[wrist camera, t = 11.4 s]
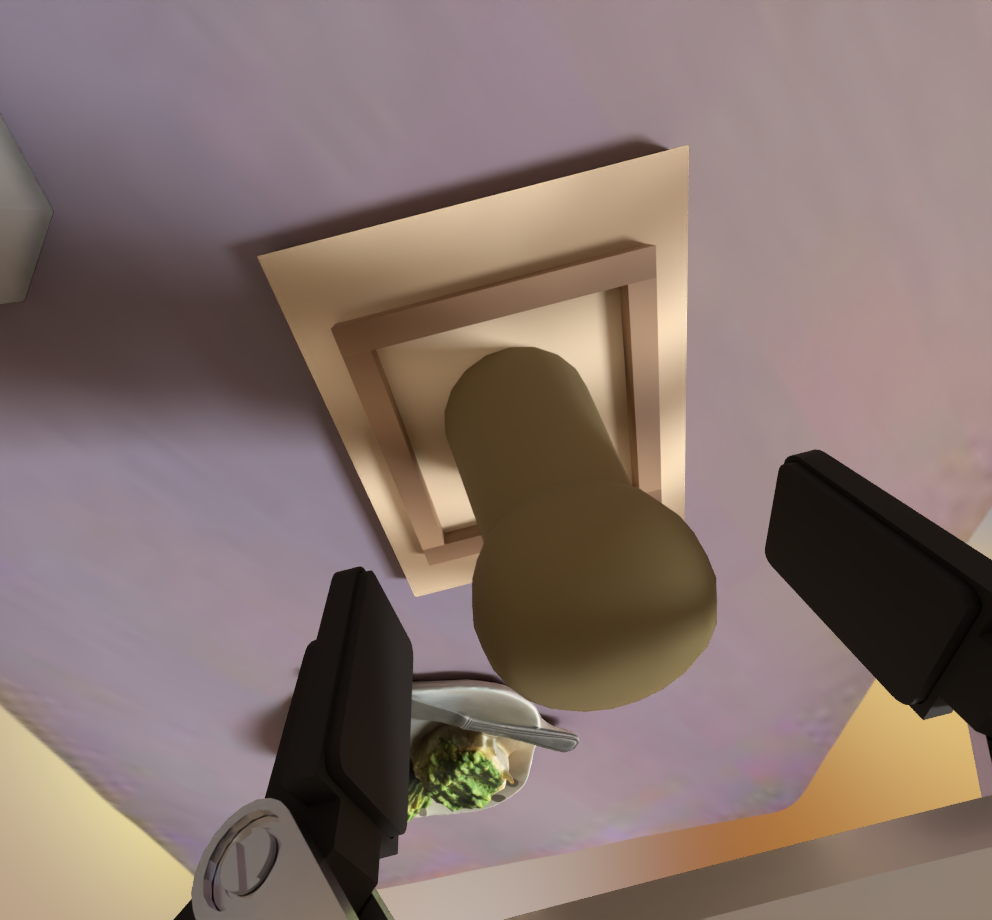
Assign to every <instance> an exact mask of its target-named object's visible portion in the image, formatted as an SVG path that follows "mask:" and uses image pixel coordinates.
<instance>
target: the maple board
mask: <svg viewBox="0 0 992 920" xmlns="http://www.w3.org/2000/svg"><path fill="white" fill-rule="evenodd" d="M688 179H689V145H686V146H682V147H678V148H674V149H670V150H667V151H663V152H659V153H655V154H651V155H647V156H643V157H639V158H636V159H632V160H628V161H624V162H620V163H616V164H612V165H609V166H605V167H601V168H597V169H593V170H589V171H585V172H581V173H578V174H574V175H570V176H566V177H562V178H558V179H554V180H550V181H547V182H543V183H539V184H535V185H531V186H527V187H523V188H520V189H516V190H512V191H508V192H504V193H500V194H496V195H492V196H489V197H485V198H481V199H477V200H473V201H469V202H465V203H461V204H458V205H454V206H450V207H446V208H442V209H438V210H434V211H430V212H427V213H423V214H419V215H415V216H411V217H407V218H403V219H400V220H396V221H392V222H388V223H384V224H380V225H376V226H372V227H369V228H365V229H361V230H357V231H353V232H349V233H345V234H341V235H338V236H334V237H330V238H326V239H322V240H318V241H314V242H311V243H307V244H303V245H299V246H295V247H291V248H287V249H283V250H280V251H276V252H272V253H268V254H264V255H260V256H257V258H258V260H259V262H260V264H261V266H262V268H263V271H264V273H265V275H266V277H267V279H268V281H269V284H270V286H271V288H272V290H273V292H274V294H275V296H276V299H277V301H278V303H279V305H280V307H281V309H282V312H283V314H284V316H285V318H286V320H287V322H288V324H289V327H290V329H291V331H292V333H293V335H294V337H295V339H296V342H297V344H298V346H299V348H300V350H301V352H302V355H303V357H304V359H305V361H306V363H307V365H308V367H309V370H310V372H311V374H312V376H313V378H314V380H315V382H316V385H317V387H318V389H319V391H320V393H321V395H322V398H323V400H324V402H325V404H326V406H327V408H328V410H329V413H330V415H331V417H332V419H333V421H334V423H335V425H336V428H337V430H338V432H339V434H340V436H341V438H342V441H343V443H344V445H345V447H346V449H347V451H348V453H349V456H350V458H351V460H352V462H353V464H354V466H355V468H356V471H357V473H358V475H359V477H360V479H361V481H362V484H363V486H364V488H365V490H366V492H367V494H368V496H369V499H370V501H371V503H372V505H373V507H374V509H375V511H376V514H377V516H378V518H379V520H380V522H381V524H382V527H383V529H384V531H385V533H386V535H387V537H388V539H389V542H390V544H391V546H392V548H393V550H394V552H395V554H396V557H397V559H398V561H399V563H400V565H401V567H402V570H403V572H404V574H405V576H406V578H407V580H408V582H409V585H410V587H411V589H412V591H413V593H414V595H415V597H418V596H422V595H426V594H430V593H434V592H437V591H441V590H445V589H449V588H453V587H457V586H461V585H465V584H469V583H472V578H473V574H474V570H475V565H476V561H477V558H478V556H479V554H480V551H481V549H482V547H483V544H484V542H483V539H482V536H481V533H480V531H479V528H478V525H477V522H476V519H475V516H474V514H473V511H472V508H471V505H470V502H469V499H468V496H467V494H466V491H465V488H464V485H463V482H462V479H461V477H460V474H459V471H458V468H457V465H456V462H455V460H454V457H453V454H452V451H451V448H450V445H449V442H448V440H447V437H446V434H445V413H444V412H445V408H446V405H447V402H448V399H449V396H450V392H451V390H452V388H453V387H454V385H455V384H456V383H457V381H458V380H459V379H460V377H461V376H462V374H463V373H464V372H465V370H467V369H468V368H469V367H471V366H472V365H474V364H475V363H476V362H478V361H479V360H480V359H482V358H483V357H485V356H486V355H489V354H492V353H495V352H498V351H501V350H504V349H507V348H510V347H536V348H539V349H542V350H545V351H548V352H551V353H554V354H557V355H559V356H560V357H562V358H563V359H564V360H565V361H567V362H568V363H569V364H571V365H572V366H573V367H574V368H576V370H577V371H578V373H579V375H580V376H581V378H582V380H583V381H584V383H585V384H586V386H587V388H588V390H589V392H590V395H591V397H592V399H593V401H594V403H595V406H596V408H597V410H598V412H599V414H600V417H601V419H602V421H603V423H604V425H605V428H606V430H607V432H608V434H609V436H610V439H611V441H612V443H613V445H614V447H615V450H616V452H617V454H618V456H619V458H620V461H621V463H622V465H623V467H624V469H625V472H626V474H627V476H628V478H629V480H630V483H631V485H632V486H634V487H638V488H640V489H641V490H643V491H644V492H646V493H647V494H649V495H650V496H652V497H653V498H655V499H656V500H658V501H659V502H661V503H662V504H664V505H665V506H667V507H668V508H669V509H671V510H672V511H674V512H675V513H677V514H678V515H679V516H680V517H681V518H682V519H683V520H684V506H685V424H686V342H687V261H688Z"/></svg>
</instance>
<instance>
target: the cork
mask: <svg viewBox="0 0 992 920" xmlns="http://www.w3.org/2000/svg"><path fill="white" fill-rule="evenodd" d="M444 413H445V434H446V437H447V440H448V442H449V445H450V448H451V451H452V454H453V457H454V460H455V462H456V465H457V468H458V471H459V474H460V477H461V479H462V482H463V485H464V488H465V491H466V494H467V496H468V499H469V502H470V505H471V508H472V511H473V514H474V516H475V519H476V522H477V525H478V528H479V531H480V533H481V536H482V539H483V542H484V544H483V547H482V549H481V551H480V554H479V556H478V558H477V561H476V565H475V570H474V574H473V578H472V608H473V621H474V629H475V631H476V634H477V636H478V639H479V641H480V643H481V646H482V648H483V650H484V652H485V654H486V656H487V658H488V660H489V662H490V664H491V666H492V668H493V670H494V671H495V672H496V673H497V674H498V675H499V676H500V677H501V679H502V680H503V681H504V682H505V683H506V684H507V685H508V686H509V687H510V688H512V689H513V690H514V691H515V692H517V693H518V694H519V695H521V696H522V697H523V698H524V699H526V700H528V701H531V702H534V703H537V704H539V705H542V706H545V707H548V708H552V709H559V710H571V711H582V712H588V711H597V710H606V709H613V708H616V707H620V706H623V705H627V704H630V703H634V702H637V701H640V700H642V699H644V698H646V697H648V696H650V695H652V694H654V693H656V692H658V691H660V690H662V689H664V688H665V687H666V686H668V685H669V684H670V683H672V682H673V681H674V680H676V679H677V678H679V677H680V676H681V675H683V674H684V673H685V672H686V671H687V670H688V669H689V668H690V666H691V665H692V664H693V663H694V662H695V660H696V659H697V658H698V657H699V656H700V655H701V653H702V652H703V651H704V650H705V649H706V647H707V646H708V644H709V641H710V639H711V636H712V634H713V632H714V629H715V627H716V624H717V592H716V576H715V574H714V571H713V569H712V566H711V564H710V561H709V559H708V556H707V555H706V553H705V551H704V549H703V548H702V546H701V544H700V542H699V541H698V539H697V537H696V535H695V534H694V532H693V531H692V530H691V529H690V527H689V526H688V525H687V524H686V523H685V522H684V520H683V519H682V518H681V517H680V516H679V515H678V514H677V513H675V512H674V511H672V510H671V509H669V508H668V507H667V506H665V505H664V504H662V503H661V502H659V501H658V500H656V499H655V498H653V497H652V496H650V495H649V494H647V493H646V492H644V491H643V490H641V489H640V488H638V487H634V486H632V485H631V483H630V480H629V478H628V476H627V474H626V472H625V469H624V467H623V465H622V463H621V461H620V458H619V456H618V454H617V452H616V450H615V447H614V445H613V443H612V441H611V439H610V436H609V434H608V432H607V430H606V428H605V425H604V423H603V421H602V419H601V417H600V414H599V412H598V410H597V408H596V406H595V403H594V401H593V399H592V397H591V395H590V392H589V390H588V388H587V386H586V384H585V383H584V381H583V380H582V378H581V376H580V375H579V373H578V371H577V370H576V368H574V367H573V366H572V365H571V364H569V363H568V362H567V361H565V360H564V359H563V358H562V357H560V356H559V355H557V354H554V353H551V352H548V351H545V350H542V349H539V348H536V347H510V348H507V349H504V350H501V351H498V352H495V353H492V354H489V355H486V356H485V357H483V358H482V359H480V360H479V361H478V362H476V363H475V364H474V365H472V366H471V367H469V368H468V369H467V370H465V372H464V373H463V374H462V376H461V377H460V379H459V380H458V381H457V383H456V384H455V385H454V387H453V388H452V390H451V392H450V396H449V399H448V402H447V405H446V408H445V412H444Z"/></svg>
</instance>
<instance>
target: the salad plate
mask: <svg viewBox="0 0 992 920" xmlns="http://www.w3.org/2000/svg"><path fill="white" fill-rule="evenodd" d="M578 744H579V738H578V736H577V735H576V734H575V733H573V732H571V731H568V730H566V729H562V728H559V727H556V726H552V725H551V724H549V723H547V722H546V721H545V720H543V719H542V718H541V715H540V714H539V711H538V709H537V707H536V705H535V704H534V703H533V702H531V701H528V700H526V699H524V698H523V697H522V696H521V695H519V694H518V693H517V692H515V691H514V690H513V689H511V688H510V687H508V686H506V685H503V684H498V683H493V682H485V681H479V680H469V679H463V680H445V681H412V706H411V734H410V763H409V791H408V819H407V822H408V821H409V820H411V819H413V818H416V817H426V816H431V815H448V814H458V813H466V812H474V811H480V810H484V809H487V808H490V807H493V806H495V805H497V804H499V803H501V802H503V801H505V800H506V799H508V798H510V797H511V796H513V795H514V794H515V793H517V792H518V791H519V790H520V789H521V788H522V787H523V786H524V784H525V782H526V781H527V778H528V775H529V772H530V767H531V763H532V760H533V754H534V750H535V748H536V746H540V747H543V748H547V749H551V750H555V751H560V752H568V751H571V750H573V749H575V748H576V747H577V745H578Z"/></svg>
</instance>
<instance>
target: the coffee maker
mask: <svg viewBox="0 0 992 920" xmlns="http://www.w3.org/2000/svg"><path fill="white" fill-rule="evenodd" d="M52 215H53V209H52V207H51V206H50V204H49V202H48V200H47V198H46V197H45V195H44V193H43V191H42V189H41V187H40V186H39V184H38V182H37V180H36V178H35V176H34V175H33V173H32V171H31V169H30V167H29V165H28V164H27V162H26V160H25V158H24V156H23V154H22V153H21V151H20V149H19V147H18V145H17V144H16V142H15V140H14V138H13V136H12V134H11V133H10V131H9V129H8V127H7V125H6V123H5V122H4V120H3V118H2V116H1V114H0V304H8V303H16V302H23V301H24V300H25V297H26V294H27V291H28V288H29V285H30V282H31V279H32V276H33V273H34V270H35V267H36V264H37V260H38V257H39V254H40V251H41V248H42V245H43V242H44V239H45V236H46V233H47V230H48V227H49V224H50V221H51V218H52Z"/></svg>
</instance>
